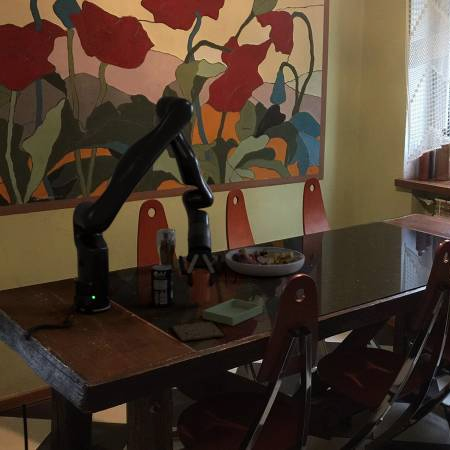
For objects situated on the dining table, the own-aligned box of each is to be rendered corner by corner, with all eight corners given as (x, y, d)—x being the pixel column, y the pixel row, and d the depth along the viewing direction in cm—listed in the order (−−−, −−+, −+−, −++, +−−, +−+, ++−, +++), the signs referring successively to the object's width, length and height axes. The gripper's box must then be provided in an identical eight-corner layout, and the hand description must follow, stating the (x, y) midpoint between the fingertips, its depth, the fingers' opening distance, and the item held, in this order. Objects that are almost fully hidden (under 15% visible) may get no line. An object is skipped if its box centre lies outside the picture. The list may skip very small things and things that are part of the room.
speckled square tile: (171, 327, 206) (170, 324, 205) (211, 323, 210) (211, 320, 210) (181, 341, 195) (181, 338, 195) (224, 336, 200) (224, 333, 199)
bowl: (258, 255, 294) (258, 236, 293) (319, 267, 278) (320, 247, 276) (208, 269, 270) (208, 249, 269) (272, 283, 254) (272, 262, 252)
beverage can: (164, 299, 232) (164, 263, 230) (176, 304, 228) (176, 267, 225) (147, 303, 228) (146, 266, 225) (159, 308, 223) (158, 270, 221)
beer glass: (179, 269, 269) (179, 230, 266) (167, 273, 264) (166, 233, 261) (166, 266, 273) (165, 227, 270) (153, 270, 267) (152, 230, 264)
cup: (201, 303, 223) (202, 275, 221) (187, 300, 226) (188, 272, 224) (213, 299, 228) (213, 272, 226) (199, 296, 230) (199, 269, 229)
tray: (232, 326, 209) (232, 317, 208) (202, 318, 215) (202, 310, 214) (262, 312, 222) (262, 304, 221) (233, 306, 227) (233, 298, 227)
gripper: (177, 233, 229) (177, 280, 219) (222, 233, 231) (225, 279, 222) (176, 246, 235) (177, 291, 226) (220, 245, 238) (223, 290, 228)
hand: (201, 285), depth 224 cm, fingers closed on cup, 5 cm apart
